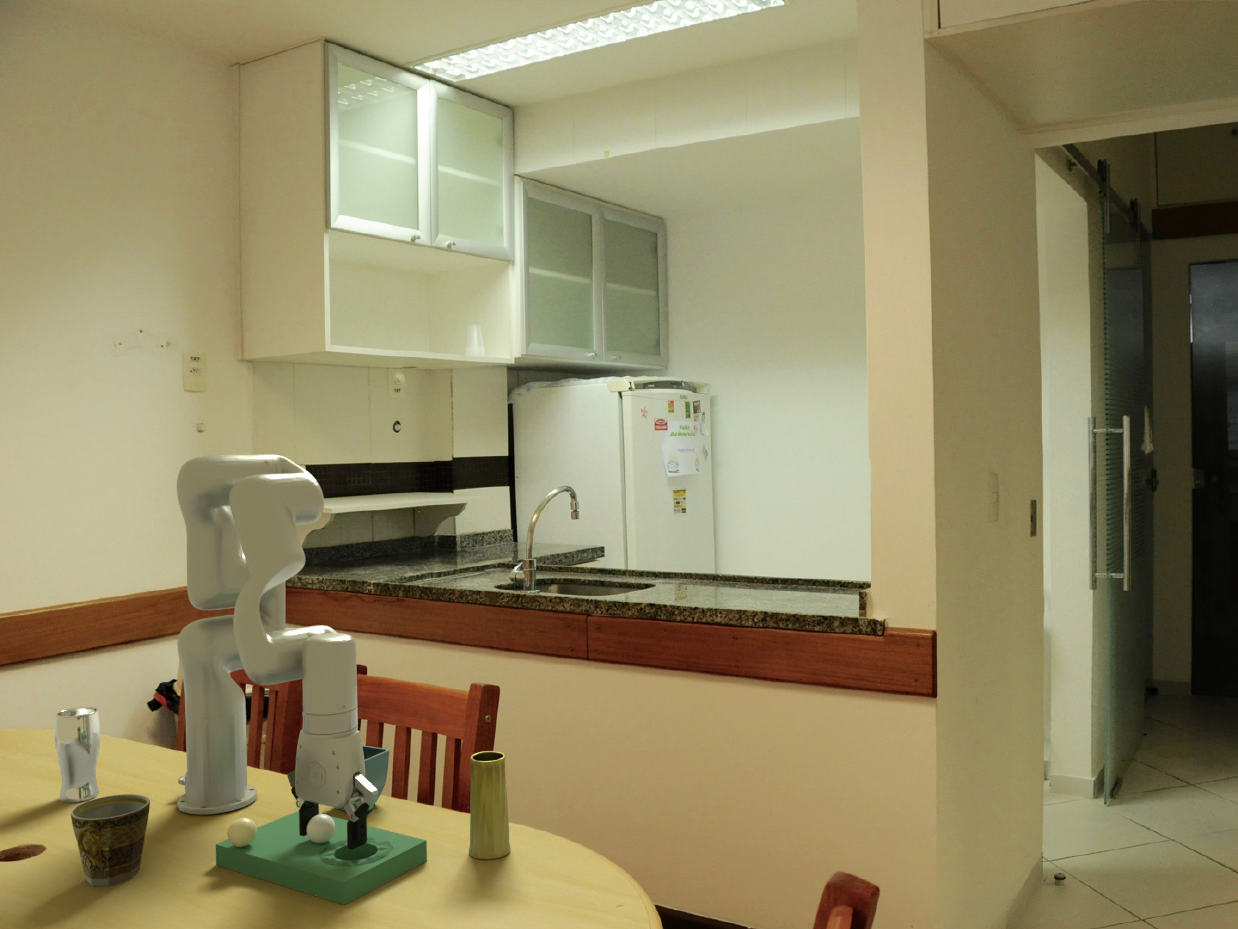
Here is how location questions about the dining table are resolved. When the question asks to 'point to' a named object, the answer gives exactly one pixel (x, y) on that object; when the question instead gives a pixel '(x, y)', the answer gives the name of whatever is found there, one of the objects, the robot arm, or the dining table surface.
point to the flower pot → (375, 768)
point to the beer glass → (78, 752)
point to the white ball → (320, 828)
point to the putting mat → (323, 859)
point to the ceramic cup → (111, 837)
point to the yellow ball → (242, 832)
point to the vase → (488, 806)
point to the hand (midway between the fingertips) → (333, 839)
